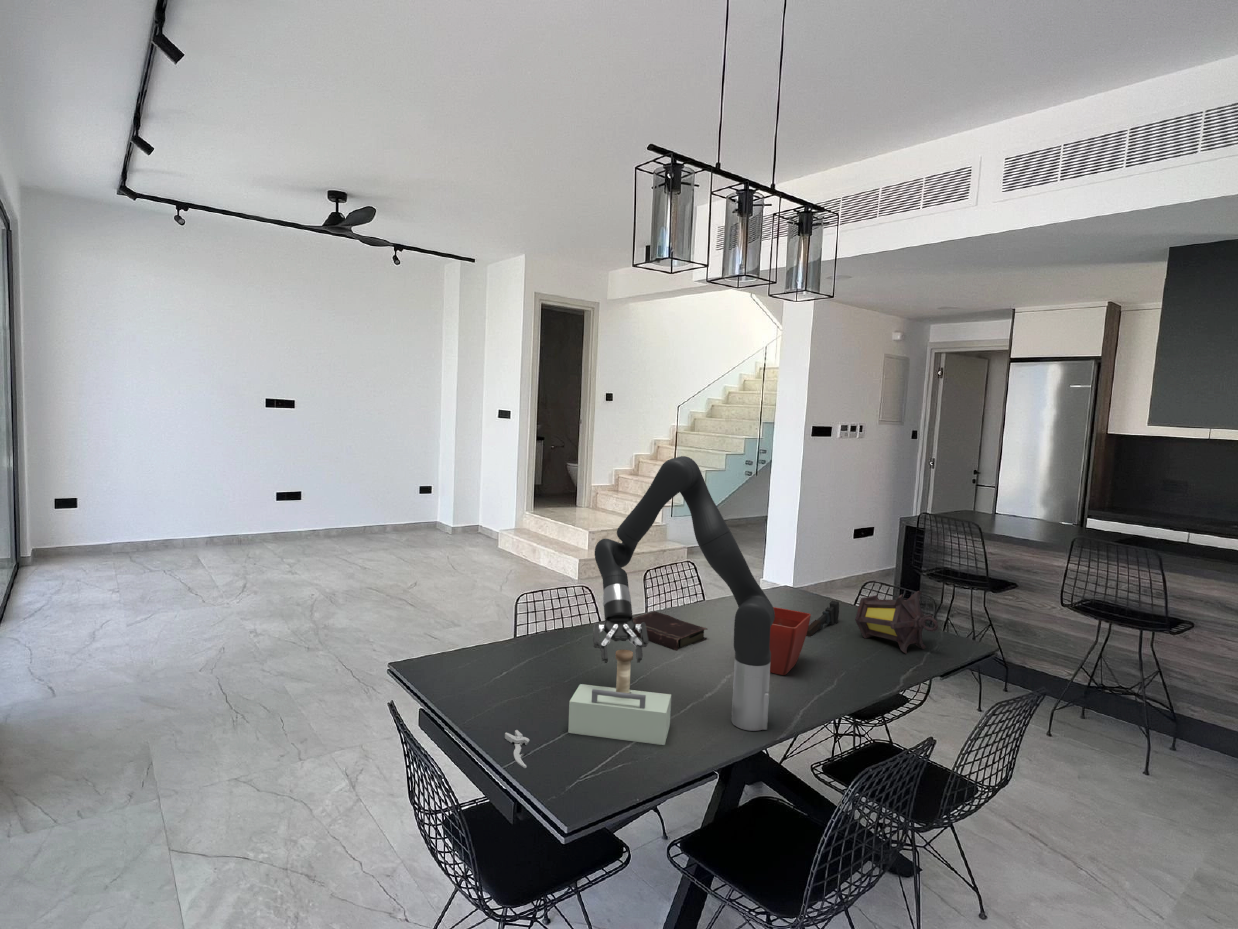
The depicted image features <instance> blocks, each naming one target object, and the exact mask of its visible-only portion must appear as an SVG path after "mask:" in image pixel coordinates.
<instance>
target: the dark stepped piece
mask: <svg viewBox="0 0 1238 929" xmlns="http://www.w3.org/2000/svg"><path fill="white" fill-rule="evenodd" d="M839 615H840V601H835V600H830V602H829V606H827V607H826V608H825V611H824V610H823V611H822V615H820V617H818V618H817V619H815V620H814V621H812V622H811V623H809V626H808V630H807V634H806V637H808V638H810V637H811V636H812V635H813V634H815V633H816V632H817V631H820V630H822V629H823V628H824V625H830V626H834V625H835V624H836V625H837V624H838V622H839Z"/></svg>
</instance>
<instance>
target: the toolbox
mask: <svg viewBox="0 0 1238 929" xmlns="http://www.w3.org/2000/svg"><path fill="white" fill-rule="evenodd" d="M618 697H620V698H618ZM626 698H629V699H626ZM568 703H569V704H568V705H569V706H568V728H567V729H568V731H567V732H568V733H569V734H574V735H575V734H576V735H582V736H591V737H598V738H605V739H606V738H607V739H614V740H621V741H629V742H637V743H646V744H653V745H658V746H659V745H660V746H665V745H666V741H667V737H668V735H669V730H670V726H671V712H672V711H671V709H672V694H671V693H660V692H653V691H652V692H651V691H645V690H644V691H643V690H634V689H630V692H629V693H622V692H616V687H609V686H601V685H600V686H599V685H594V684H593V685H591V684H583V683H582V684H581V683H580V684H579V685H578V687H577V689H576V690H575V692H574V693H573V695H572V697H571V698H570V700H569V702H568Z"/></svg>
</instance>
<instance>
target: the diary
mask: <svg viewBox="0 0 1238 929" xmlns="http://www.w3.org/2000/svg"><path fill="white" fill-rule="evenodd" d="M633 622H634V624H641V623H642V622H644V623H645V624H646V630H647V635H648V641H649V642H650V643H653V644H656V645H660V646H662V647H666V648H668V649H672V650H673V651H678V650H679V649H681V648H684V647H686V646H689V645H696V644H699V643H701V642H704V641H706V640H707V639H708V637H704V636H705V630H708V628H706V627H703V626H700V625H697V624H694V623H690V622H687V621H683V620H682V619H678V618H677V617H673V616H672V615H669V614H666V613H662V612H659V611H655V610H653V611H651V612H647V613H645V614H640V615H638V616H635V617H633ZM634 633H635V634H636V636H637V638H638V639H641V634H640V633H639V632H638V630H637V629H635V630H634Z"/></svg>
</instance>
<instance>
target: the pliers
mask: <svg viewBox="0 0 1238 929" xmlns="http://www.w3.org/2000/svg"><path fill="white" fill-rule="evenodd" d="M504 739H505V740H506V741H507V742H510V744H512V743H514V747H515V748H514V750H513V758H514V760H515V761H516V763H517V764H518V765H519V766H520V767H522V768H524V769H526V768H527V767H528V766H527V764H525V763H524V761H523V760H522V758H523V757H524V756H525V753H521V751H522V747H521V746H522V745H525V746H527V745H528V744H529V742H530V739H529V738H528V737H526V736H523V733H521V732H520V731H519V730H518V729H516V730H514V735H513V734H511V733H509V732H505V733H504Z"/></svg>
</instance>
